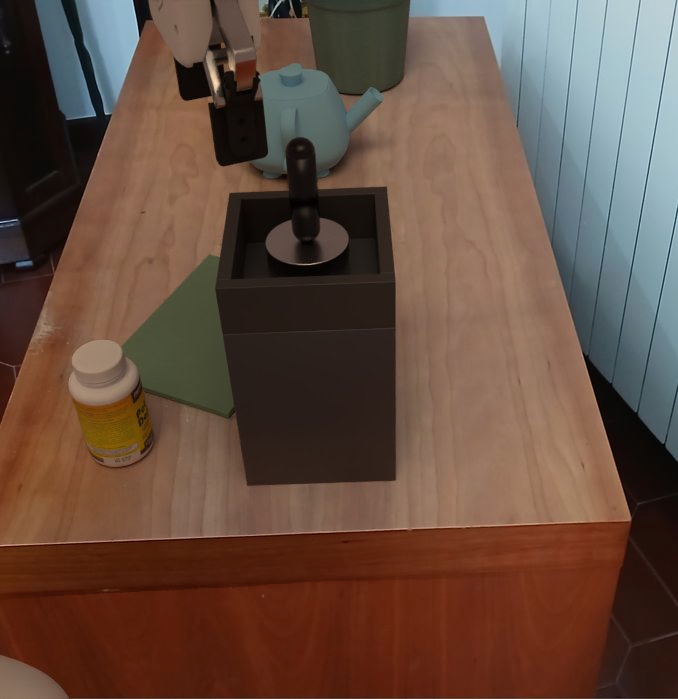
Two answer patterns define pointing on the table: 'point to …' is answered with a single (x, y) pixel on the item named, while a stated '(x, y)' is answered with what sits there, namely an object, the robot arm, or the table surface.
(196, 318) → the green mat
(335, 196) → the black box
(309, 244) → the meat pounder
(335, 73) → the flower pot
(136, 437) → the supplement bottle
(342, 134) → the teapot
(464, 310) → the table surface
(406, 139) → the table surface
